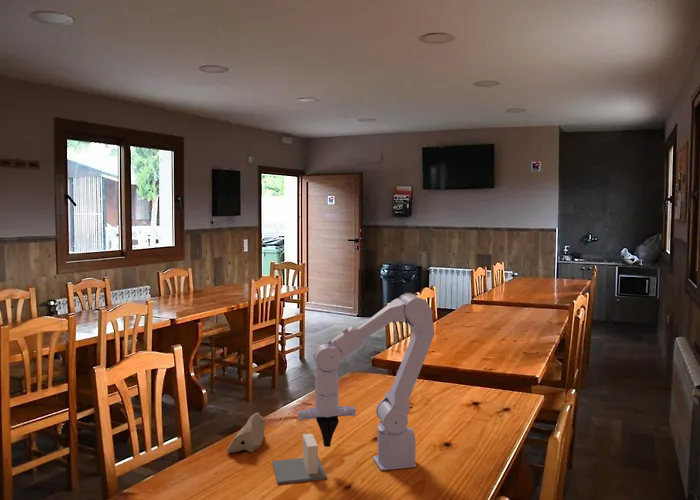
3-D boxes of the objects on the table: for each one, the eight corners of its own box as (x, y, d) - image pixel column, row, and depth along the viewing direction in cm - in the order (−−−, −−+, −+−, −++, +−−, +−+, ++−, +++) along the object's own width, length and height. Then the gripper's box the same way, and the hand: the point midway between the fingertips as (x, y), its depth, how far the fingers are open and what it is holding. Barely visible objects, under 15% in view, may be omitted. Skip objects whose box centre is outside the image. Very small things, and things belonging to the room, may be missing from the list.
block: (312, 459, 155) (312, 433, 155) (317, 473, 147) (317, 445, 147) (303, 460, 155) (302, 434, 154) (307, 474, 147) (307, 446, 146)
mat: (318, 458, 157) (318, 456, 157) (326, 479, 146) (326, 476, 146) (272, 463, 155) (272, 460, 155) (277, 484, 143) (277, 481, 143)
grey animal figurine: (270, 436, 173) (270, 408, 172) (253, 457, 159) (253, 427, 158) (243, 434, 174) (243, 407, 174) (224, 454, 160) (223, 425, 159)
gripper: (351, 386, 156) (351, 436, 157) (295, 389, 152) (296, 441, 154) (357, 394, 149) (357, 447, 150) (299, 398, 146) (300, 452, 147)
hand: (326, 445), depth 151 cm, fingers closed
